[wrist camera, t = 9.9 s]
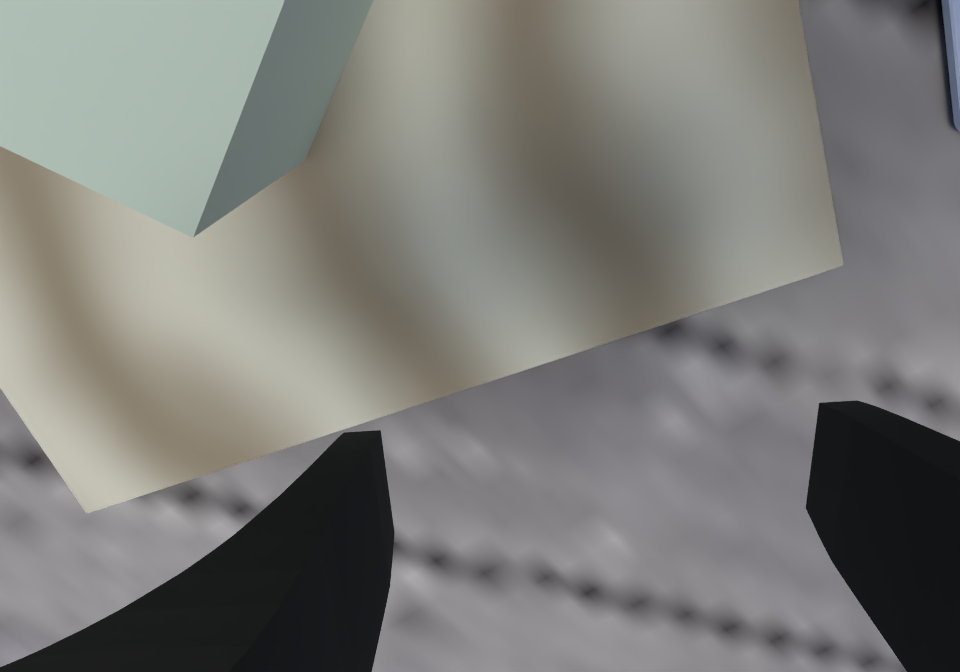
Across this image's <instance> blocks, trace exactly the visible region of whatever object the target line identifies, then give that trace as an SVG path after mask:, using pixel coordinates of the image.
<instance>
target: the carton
mask: <svg viewBox="0 0 960 672" xmlns="http://www.w3.org/2000/svg"><path fill="white" fill-rule="evenodd" d="M372 2H373V0H0V146H1V147H3V148H5V149H7V150H9V151H11V152H14V153H16V154H18V155H20V156H22V157H24V158H26V159H28V160H30V161H32V162H35V163H37V164H39V165H41V166H43V167H45V168H47V169H49V170H51V171H54V172H56V173H58V174H60V175H62V176H64V177H66V178H68V179H70V180H72V181H75V182H77V183H79V184H81V185H83V186H85V187H87V188H89V189H91V190H93V191H96V192H98V193H100V194H102V195H104V196H106V197H108V198H110V199H112V200H115V201H117V202H119V203H121V204H123V205H125V206H127V207H129V208H131V209H133V210H136V211H138V212H140V213H142V214H144V215H146V216H148V217H150V218H152V219H155V220H157V221H159V222H161V223H163V224H165V225H167V226H169V227H171V228H173V229H176V230H178V231H180V232H182V233H184V234H186V235H188V236H190V237H192V238H193V237H195V236H196V235H198V234H199V233H201V232H202V231H204V230H205V229H206V228H208V227H209V226H211V225H212V224H214V223H215V222H217V221H218V220H219V219H221V218H222V217H224V216H225V215H227V214H228V213H230V212H231V211H233V210H234V209H235V208H237V207H238V206H240V205H241V204H243V203H244V202H246V201H247V200H248V199H250V198H251V197H253V196H254V195H256V194H257V193H259V192H260V191H261V190H263V189H264V188H266V187H267V186H269V185H270V184H272V183H273V182H274V181H276V180H277V179H279V178H280V177H282V176H283V175H285V174H286V173H288V172H289V171H290V170H292V169H293V168H295V167H296V166H298V165H299V164H301V163H302V162H303V161H305V159H306V156H307V154H308V152H309V149H310V147H311V145H312V142H313V140H314V138H315V135H316V133H317V131H318V128H319V126H320V124H321V121H322V119H323V117H324V114H325V112H326V110H327V107H328V105H329V103H330V100H331V98H332V96H333V93H334V91H335V89H336V86H337V84H338V82H339V79H340V77H341V75H342V72H343V70H344V68H345V65H346V63H347V61H348V58H349V56H350V54H351V51H352V49H353V47H354V44H355V42H356V40H357V37H358V35H359V33H360V30H361V28H362V26H363V23H364V21H365V19H366V16H367V14H368V12H369V9H370V7H371V5H372Z"/></svg>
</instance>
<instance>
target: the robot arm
mask: <svg viewBox="0 0 960 672" xmlns="http://www.w3.org/2000/svg"><path fill="white" fill-rule="evenodd" d="M942 10H943V20H944V29H945V39H946V49H947V59H948V69H949V78H950V88H951V98H952V108H953V118H954V124H955V127H956V129H957V130H958V131H959V132H960V0H942ZM806 509H807V511H808V514H809V516H810V518H811V520H812V522H813V524H814V526H815V529H816V531H817V533H818V535H819V537H820V539H821V541H822V543H823V545H824V547H825V549H826V551H827V553H828V555H829V557H830V559H831V560H832V562H833V564H834V565H835V567H836V568H837V570H838V571H839V573H840V574H841V576H842V577H843V579H844V580H845V582H846V583H847V585H848V586H849V588H850V589H851V591H852V592H853V594H854V595H855V597H856V598H857V599H858V601H859V602H860V604H861V605H862V607H863V608H864V610H865V611H866V613H867V614H868V616H869V617H870V618H871V620H872V621H873V623H874V624H875V626H876V627H877V629H878V630H879V631H880V633H881V634H882V636H883V637H884V639H885V640H886V642H887V643H888V645H889V646H890V647H891V649H892V650H893V652H894V653H895V655H896V656H897V658H898V659H899V661H900V662H901V663H902V665H903V666H904V668H905V669H906V671H907V672H960V441H958V440H955V439H953V438H951V437H948V436H946V435H944V434H941V433H939V432H937V431H934V430H932V429H930V428H927V427H925V426H923V425H920V424H918V423H916V422H913V421H911V420H909V419H906V418H904V417H901V416H899V415H896V414H894V413H891V412H889V411H886V410H884V409H881V408H879V407H876V406H873V405H870V404H867V403H863V402H860V401H843V402H827V403H819V409H818V417H817V425H816V432H815V440H814V448H813V456H812V464H811V471H810V479H809V487H808V495H807V503H806ZM393 544H394V526H393V519H392V511H391V504H390V497H389V489H388V482H387V475H386V467H385V460H384V453H383V445H382V438H381V431H380V430H379V431H363V432H347V433H343V434H342V435H341V436H340V437H339V438H338V439H337V440H336V441H335V442H334V443H333V444H332V445H331V446H330V447H329V448H328V449H327V450H326V451H325V452H324V453H323V454H322V455H321V456H320V457H319V458H318V459H317V460H316V461H315V462H314V463H313V464H312V465H311V466H310V467H309V468H308V469H307V470H306V471H305V472H304V473H303V474H302V475H301V476H300V477H299V478H298V479H296V480H295V481H294V482H293V483H292V484H291V485H290V486H289V487H288V488H287V489H286V490H285V491H284V492H283V493H282V494H281V495H280V496H279V497H278V498H276V499H275V500H274V501H273V502H272V503H271V504H269V505H268V506H267V507H266V508H265V509H264V510H263V511H261V512H260V513H259V514H258V515H257V516H256V517H254V518H253V519H252V520H251V521H250V522H249V523H248V524H246V525H245V526H244V527H243V528H242V529H241V530H239V531H238V532H237V533H236V534H234V535H233V536H232V537H231V538H229V539H228V540H227V541H225V542H224V543H223V544H221V545H220V546H219V547H217V548H216V549H215V550H213V551H212V552H210V553H209V554H208V555H206V556H205V557H203V558H202V559H201V560H199V561H198V562H196V563H195V564H193V565H192V566H191V567H189V568H188V569H186V570H185V571H183V572H182V573H180V574H179V575H177V576H175V577H174V578H172V579H170V580H169V581H167V582H165V583H164V584H162V585H160V586H159V587H157V588H156V589H154V590H152V591H151V592H149V593H147V594H146V595H144V596H142V597H141V598H139V599H137V600H136V601H134V602H132V603H131V604H129V605H127V606H126V607H124V608H122V609H120V610H119V611H117V612H115V613H113V614H111V615H109V616H108V617H106V618H104V619H102V620H100V621H98V622H96V623H94V624H92V625H90V626H89V627H87V628H85V629H83V630H81V631H79V632H77V633H75V634H73V635H71V636H69V637H66V638H64V639H62V640H60V641H58V642H56V643H54V644H52V645H50V646H48V647H46V648H44V649H42V650H39V651H37V652H35V653H33V654H31V655H29V656H26V657H24V658H22V659H19V660H17V661H15V662H12V663H10V664H7V665H5V666H3V667H0V672H372V667H373V663H374V658H375V654H376V649H377V644H378V640H379V635H380V631H381V626H382V621H383V617H384V612H385V607H386V603H387V598H388V593H389V588H390V579H391V568H392V557H393Z"/></svg>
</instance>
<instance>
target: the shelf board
mask: <svg viewBox="0 0 960 672" xmlns="http://www.w3.org/2000/svg"><path fill="white" fill-rule="evenodd" d="M841 266H844V264H843V258H842V252H841V246H840V240H839V235H838V229H837V223H836V217H835V211H834V205H833V200H832V194H831V188H830V182H829V176H828V170H827V165H826V159H825V153H824V147H823V141H822V135H821V130H820V124H819V118H818V112H817V106H816V100H815V95H814V89H813V83H812V77H811V71H810V65H809V59H808V54H807V48H806V42H805V36H804V30H803V24H802V19H801V13H800V7H799V1H798V0H373V2H372V5H371V7H370V9H369V12H368V14H367V16H366V19H365V21H364V23H363V26H362V28H361V30H360V33H359V35H358V37H357V40H356V42H355V44H354V47H353V49H352V51H351V54H350V56H349V58H348V61H347V63H346V65H345V68H344V70H343V72H342V75H341V77H340V79H339V82H338V84H337V86H336V89H335V91H334V93H333V96H332V98H331V100H330V103H329V105H328V107H327V110H326V112H325V114H324V117H323V119H322V121H321V124H320V126H319V128H318V131H317V133H316V135H315V138H314V140H313V142H312V145H311V147H310V149H309V152H308V154H307V156H306V159H305V161H303V162H302V163H301V164H299V165H298V166H296V167H295V168H293V169H292V170H290V171H289V172H288V173H286V174H285V175H283V176H282V177H280V178H279V179H277V180H276V181H274V182H273V183H272V184H270V185H269V186H267V187H266V188H264V189H263V190H261V191H260V192H259V193H257V194H256V195H254V196H253V197H251V198H250V199H248V200H247V201H246V202H244V203H243V204H241V205H240V206H238V207H237V208H235V209H234V210H233V211H231V212H230V213H228V214H227V215H225V216H224V217H222V218H221V219H219V220H218V221H217V222H215V223H214V224H212V225H211V226H209V227H208V228H206V229H205V230H204V231H202V232H201V233H199V234H198V235H196V236H195V237H193V238H192V237H190V236H188V235H186V234H184V233H182V232H180V231H178V230H176V229H173V228H171V227H169V226H167V225H165V224H163V223H161V222H159V221H157V220H155V219H152V218H150V217H148V216H146V215H144V214H142V213H140V212H138V211H136V210H133V209H131V208H129V207H127V206H125V205H123V204H121V203H119V202H117V201H115V200H112V199H110V198H108V197H106V196H104V195H102V194H100V193H98V192H96V191H93V190H91V189H89V188H87V187H85V186H83V185H81V184H79V183H77V182H75V181H72V180H70V179H68V178H66V177H64V176H62V175H60V174H58V173H56V172H54V171H51V170H49V169H47V168H45V167H43V166H41V165H39V164H37V163H35V162H32V161H30V160H28V159H26V158H24V157H22V156H20V155H18V154H16V153H14V152H11V151H9V150H7V149H5V148H3V147H1V146H0V388H1V389H2V391H3V392H4V394H5V395H6V397H7V398H8V400H9V401H10V403H11V404H12V405H13V407H14V408H15V410H16V411H17V413H18V414H19V416H20V417H21V419H22V420H23V421H24V423H25V424H26V426H27V427H28V429H29V430H30V432H31V433H32V435H33V436H34V437H35V439H36V440H37V442H38V443H39V445H40V446H41V448H42V449H43V451H44V452H45V454H46V455H47V456H48V458H49V459H50V461H51V462H52V464H53V465H54V467H55V468H56V470H57V471H58V472H59V474H60V475H61V477H62V478H63V480H64V481H65V483H66V484H67V486H68V487H69V488H70V490H71V491H72V493H73V494H74V496H75V497H76V499H77V500H78V502H79V503H80V504H81V506H82V507H83V509H84V510H85V512H86V513H90V512H93V511H96V510H99V509H102V508H105V507H108V506H111V505H114V504H118V503H121V502H124V501H127V500H130V499H133V498H136V497H139V496H142V495H145V494H148V493H151V492H154V491H157V490H160V489H163V488H166V487H169V486H172V485H176V484H179V483H182V482H185V481H188V480H191V479H194V478H197V477H200V476H203V475H206V474H209V473H212V472H215V471H218V470H221V469H224V468H227V467H231V466H234V465H237V464H240V463H243V462H246V461H249V460H252V459H255V458H258V457H261V456H264V455H267V454H270V453H273V452H276V451H279V450H282V449H285V448H289V447H292V446H295V445H298V444H301V443H304V442H307V441H310V440H313V439H316V438H319V437H322V436H325V435H328V434H331V433H334V432H337V431H340V430H344V429H347V428H350V427H353V426H356V425H359V424H362V423H365V422H368V421H371V420H374V419H377V418H380V417H383V416H386V415H389V414H392V413H395V412H398V411H402V410H405V409H408V408H411V407H414V406H417V405H420V404H423V403H426V402H429V401H432V400H435V399H438V398H441V397H444V396H447V395H450V394H453V393H457V392H460V391H463V390H466V389H469V388H472V387H475V386H478V385H481V384H484V383H487V382H490V381H493V380H496V379H499V378H502V377H505V376H508V375H511V374H515V373H518V372H521V371H524V370H527V369H530V368H533V367H536V366H539V365H542V364H545V363H548V362H551V361H554V360H557V359H560V358H563V357H566V356H570V355H573V354H576V353H579V352H582V351H585V350H588V349H591V348H594V347H597V346H600V345H603V344H606V343H609V342H612V341H615V340H618V339H621V338H624V337H628V336H631V335H634V334H637V333H640V332H643V331H646V330H649V329H652V328H655V327H658V326H661V325H664V324H667V323H670V322H673V321H676V320H679V319H683V318H686V317H689V316H692V315H695V314H698V313H701V312H704V311H707V310H710V309H713V308H716V307H719V306H722V305H725V304H728V303H731V302H734V301H737V300H741V299H744V298H747V297H750V296H753V295H756V294H759V293H762V292H765V291H768V290H771V289H774V288H777V287H780V286H783V285H786V284H789V283H792V282H796V281H799V280H802V279H805V278H808V277H811V276H814V275H817V274H820V273H823V272H826V271H829V270H832V269H835V268H838V267H841Z"/></svg>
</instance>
